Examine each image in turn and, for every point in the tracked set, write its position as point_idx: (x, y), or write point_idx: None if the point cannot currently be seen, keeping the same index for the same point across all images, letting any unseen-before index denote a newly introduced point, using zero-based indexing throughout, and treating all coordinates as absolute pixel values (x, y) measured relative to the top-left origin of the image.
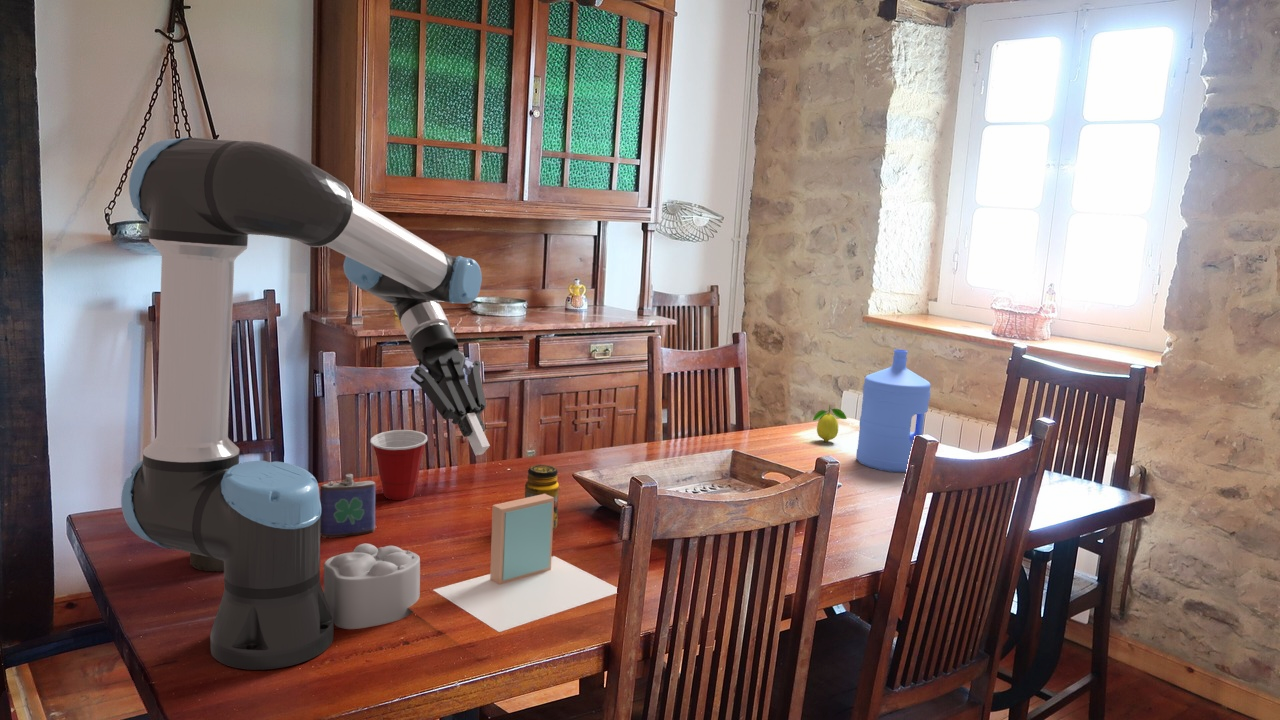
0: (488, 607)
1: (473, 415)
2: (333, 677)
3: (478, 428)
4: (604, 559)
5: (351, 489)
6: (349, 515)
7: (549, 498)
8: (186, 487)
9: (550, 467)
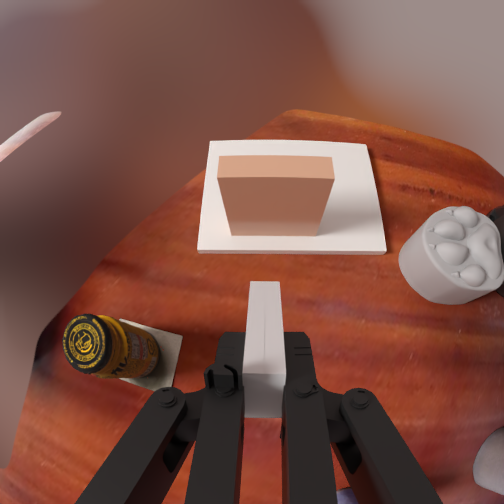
0: (353, 182)
1: (256, 363)
2: (479, 184)
3: (263, 320)
4: (144, 227)
5: None
6: None
7: (228, 156)
8: None
9: (68, 340)
